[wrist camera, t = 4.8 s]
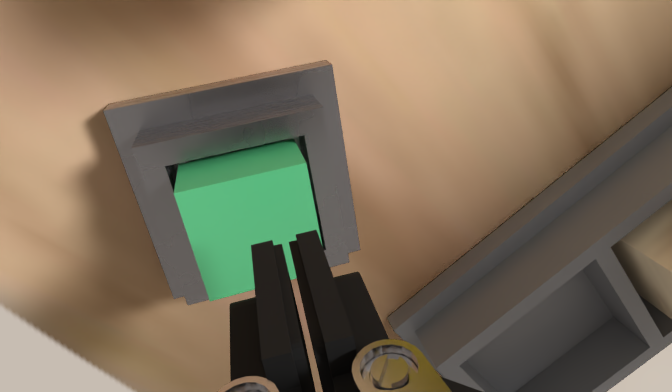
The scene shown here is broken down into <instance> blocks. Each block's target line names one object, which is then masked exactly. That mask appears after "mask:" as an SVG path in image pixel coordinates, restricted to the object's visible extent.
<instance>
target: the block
mask: <svg viewBox="0 0 672 392" xmlns="http://www.w3.org/2000/svg"><path fill="white" fill-rule="evenodd" d="M611 249H612V250H613V252H614V254H615V256H616V257H617V259H618V261H619V262H620V264H621V266H622V268H623V269H624V271H625V273H626V274H627V276H628V278H629V280H630V281H631V283H632V285H633V286H634V288H635V290H636V292H637V293H638V295H640V296H641V297H642V298H644V299H645V300H646V301H648V302H649V303H651V304H652V305H653V306H655V307H656V308H657V309H659V310H660V311H661V312H663V313H664V314H665V315H667V316H668V317H669V318H671V319H672V200H670V201H669V202H668V203H667V204H665V205H664V206H663V207H661V208H660V209H659V210H658V211H656V212H655V213H654V214H652V215H651V216H650V217H649V218H647V219H646V220H645V221H644V222H642V223H641V224H640V225H638V226H637V227H636V228H635V229H633V230H632V231H631V232H630V233H628V234H627V235H626V236H624V237H623V238H622V239H621V240H619V241H618V242H617V243H615V244H614V245H613V246H612V247H611Z"/></svg>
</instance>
